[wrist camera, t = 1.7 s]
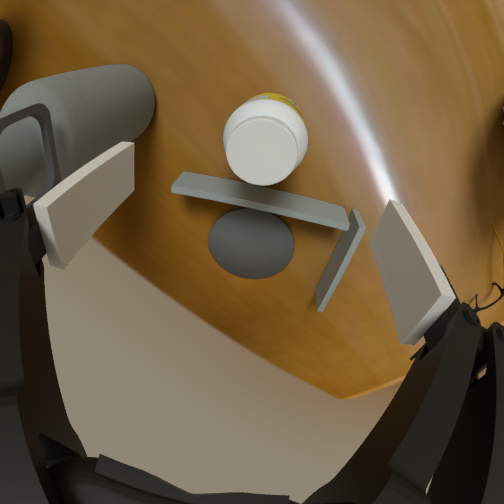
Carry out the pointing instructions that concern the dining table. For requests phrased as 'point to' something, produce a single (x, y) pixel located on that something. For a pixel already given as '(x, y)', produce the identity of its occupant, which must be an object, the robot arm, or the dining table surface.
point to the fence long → (261, 199)
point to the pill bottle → (265, 139)
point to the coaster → (251, 243)
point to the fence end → (340, 259)
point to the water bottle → (69, 124)
